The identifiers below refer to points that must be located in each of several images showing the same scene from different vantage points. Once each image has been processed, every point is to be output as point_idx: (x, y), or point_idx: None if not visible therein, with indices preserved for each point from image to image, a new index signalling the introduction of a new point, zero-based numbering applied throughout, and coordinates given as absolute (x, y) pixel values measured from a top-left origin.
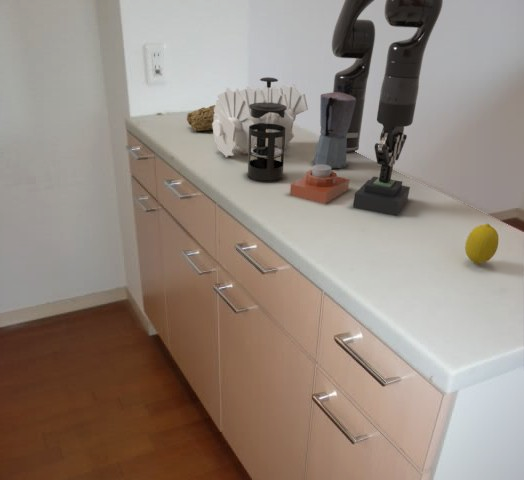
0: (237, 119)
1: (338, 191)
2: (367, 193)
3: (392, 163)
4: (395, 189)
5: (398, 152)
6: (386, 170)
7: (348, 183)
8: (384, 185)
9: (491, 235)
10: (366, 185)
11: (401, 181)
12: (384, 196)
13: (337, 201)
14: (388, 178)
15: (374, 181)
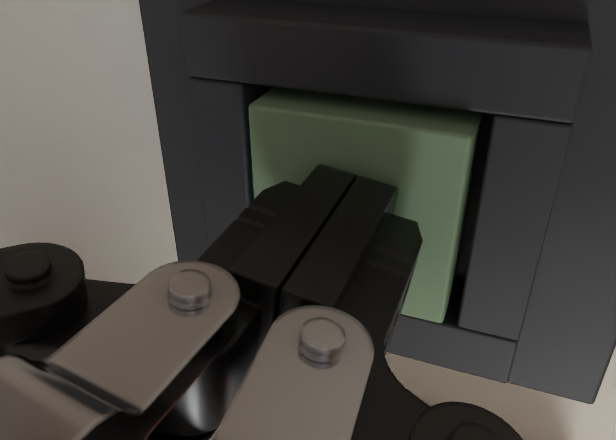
0: None
1: None
2: (550, 307)
3: (304, 334)
4: (553, 51)
5: (29, 392)
6: (389, 324)
7: None
8: (462, 206)
9: None
10: (509, 370)
11: (191, 25)
12: (598, 142)
13: (479, 400)
14: (384, 212)
15: None
